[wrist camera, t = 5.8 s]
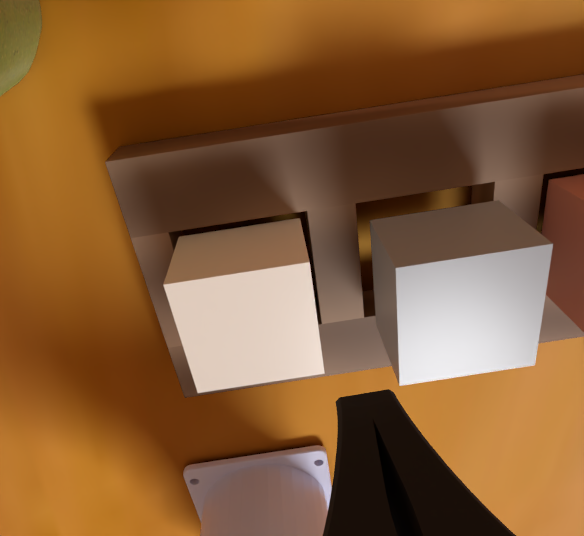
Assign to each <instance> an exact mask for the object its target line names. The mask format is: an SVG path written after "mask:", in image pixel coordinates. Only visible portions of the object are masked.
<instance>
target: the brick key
mask: <svg viewBox="0 0 584 536" xmlns="http://www.w3.org/2000/svg"><path fill="white" fill-rule="evenodd" d="M542 235H543V236H544V237H545V238H547V239H548V240H549V241H550V242H552V243H553V249H552V255H551V262H550V269H549V275H548V282H547V289H546V295H547V296H548V297H549V298H550V299H551V300H552V301H553V302H554V303H555V304H556V305H557V306H558V307H559V308H560V309H561V310H562V311H563V312H564V313H565V314H566V315H567V316H568V317H569V318H570V319H571V320H572V321H573V322H574V323H575V324H576V325H577V326H578V327H579V328H580V329H581V330H582V331H583V332H584V174H582V175H576V176H569V177H563V178H556V179H550V180H549V182H548V190H547V197H546V204H545V212H544V219H543V227H542Z"/></svg>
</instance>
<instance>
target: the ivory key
mask: <svg viewBox="0 0 584 536" xmlns="http://www.w3.org/2000/svg"><path fill="white" fill-rule="evenodd" d="M163 285H164V288H165V292H166V295H167V298H168V301H169V304H170V307H171V311H172V314H173V317H174V320H175V323H176V326H177V329H178V333H179V336H180V339H181V342H182V345H183V348H184V351H185V355H186V358H187V361H188V364H189V367H190V370H191V374H192V377H193V380H194V383H195V386H196V389H197V392H198V393H202V392H209V391H215V390H222V389H228V388H235V387H241V386H248V385H254V384H261V383H267V382H274V381H280V380H287V379H293V378H300V377H306V376H313V375H319V374H325V372H324V365H323V358H322V350H321V343H320V335H319V328H318V321H317V313H316V306H315V298H314V291H313V284H312V276H311V269H310V262H309V257H308V253H307V248H306V243H305V239H304V234H303V230H302V225H301V221H300V218H296V219H290V220H283V221H277V222H271V223H264V224H258V225H251V226H245V227H238V228H232V229H225V230H219V231H213V232H206V233H200V234H193V235H187V236H180V237H179V238H178V241H177V244H176V247H175V250H174V253H173V256H172V259H171V262H170V266H169V269H168V272H167V275H166V278H165V281H164V284H163Z"/></svg>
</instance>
